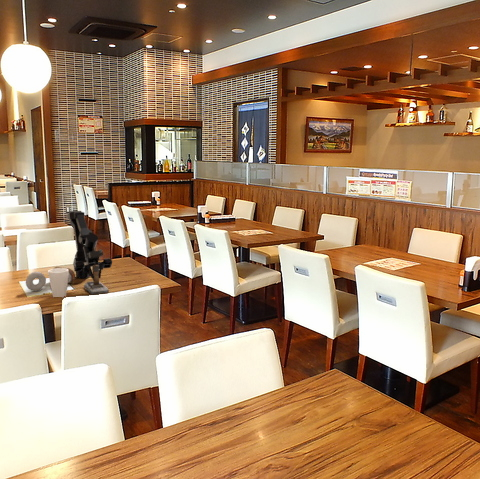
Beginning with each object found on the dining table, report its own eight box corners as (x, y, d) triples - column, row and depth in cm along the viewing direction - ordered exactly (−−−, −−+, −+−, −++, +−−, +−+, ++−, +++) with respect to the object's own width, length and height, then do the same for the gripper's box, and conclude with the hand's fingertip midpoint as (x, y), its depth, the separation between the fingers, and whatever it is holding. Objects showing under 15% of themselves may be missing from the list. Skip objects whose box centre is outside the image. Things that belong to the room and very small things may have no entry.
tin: (76, 283, 261) (75, 268, 260) (72, 285, 258) (71, 269, 257) (53, 280, 266) (52, 266, 265) (49, 282, 263) (48, 267, 262)
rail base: (83, 287, 253) (82, 282, 253) (101, 285, 258) (101, 280, 258) (90, 294, 241) (90, 289, 241) (109, 292, 246) (109, 286, 246)
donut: (27, 293, 242) (26, 273, 240) (25, 291, 244) (24, 272, 243) (47, 289, 249) (46, 270, 247) (45, 288, 251) (43, 269, 249)
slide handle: (90, 286, 250) (89, 265, 248) (99, 285, 252) (99, 264, 250) (92, 289, 246) (91, 267, 244) (102, 287, 248) (101, 265, 246)
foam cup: (71, 293, 244) (70, 268, 241) (67, 298, 235) (66, 272, 232) (51, 293, 242) (50, 268, 240) (47, 299, 233) (45, 272, 231)
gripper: (74, 246, 244) (80, 272, 236) (110, 243, 253) (117, 267, 246) (71, 258, 252) (77, 283, 244) (106, 255, 261) (113, 279, 254)
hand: (96, 278), depth 247 cm, fingers closed on slide handle, 3 cm apart
